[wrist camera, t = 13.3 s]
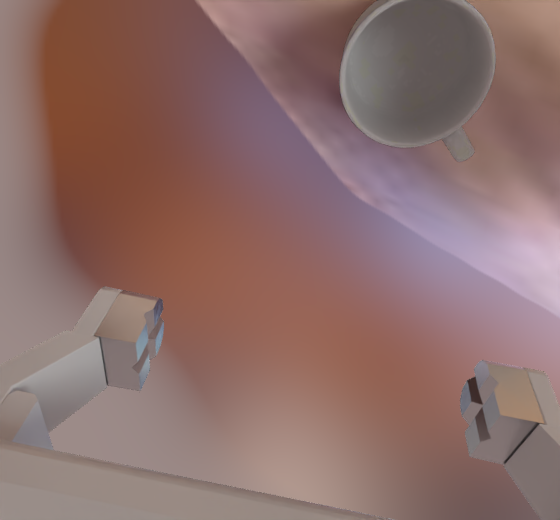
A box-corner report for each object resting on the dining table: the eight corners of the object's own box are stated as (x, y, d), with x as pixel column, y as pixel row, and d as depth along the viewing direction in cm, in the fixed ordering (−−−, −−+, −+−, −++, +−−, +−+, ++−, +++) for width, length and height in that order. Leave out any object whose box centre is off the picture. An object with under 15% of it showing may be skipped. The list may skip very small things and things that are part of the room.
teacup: (321, 18, 39) (313, 42, 33) (453, -55, 35) (473, -43, 29) (383, 158, 46) (386, 200, 40) (500, 111, 42) (524, 150, 36)
